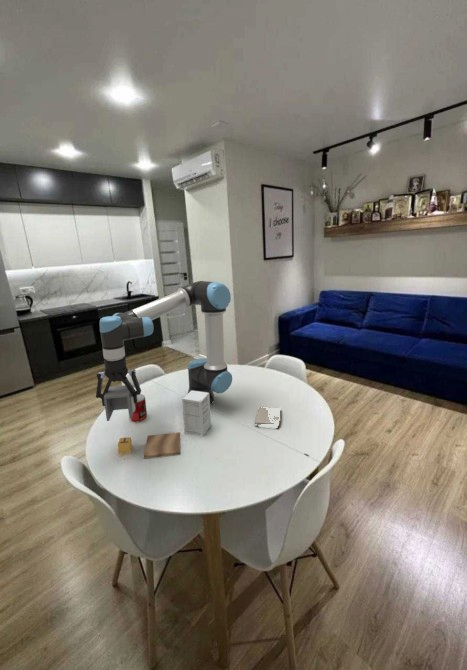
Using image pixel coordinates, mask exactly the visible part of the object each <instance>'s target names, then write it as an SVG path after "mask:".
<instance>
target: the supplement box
mask: <svg viewBox="0 0 467 670" xmlns="http://www.w3.org/2000/svg"><path fill="white" fill-rule="evenodd" d="M187 393H188V392H187ZM181 400H182V415H183V416H182V417H183V427H184V433H185V434H191V435H197V436H201V437H203V436H204V435H205V434H206V433H207V432H208V429H210V427H211V426H212V423H211V422H212V421H211V417H212V416H211V404H210V396H209V393H207V392H200V391H192V390H191V391H190V392H189V393H188V394H186V395H185V396H184V397H182V399H181Z"/></svg>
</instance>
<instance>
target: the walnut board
mask: <svg viewBox="0 0 467 670" xmlns="http://www.w3.org/2000/svg"><path fill="white" fill-rule="evenodd" d="M178 455H181V432H180V431H179V432H178V431H177V432H169V433H158V434H150V435H149V434H148V435H147V436H146V441H145V448H144V453H143V459H153V458H163V457H169V456H170V457H171V456H178Z"/></svg>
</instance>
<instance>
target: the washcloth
mask: <svg viewBox="0 0 467 670" xmlns="http://www.w3.org/2000/svg"><path fill="white" fill-rule="evenodd" d="M258 407H259V406H258ZM263 407H264V406H262V408H261V406H260V407H259V409H258V408H257V413H256V416H255V420H254V425H255V424H257V425H261V424H274V423H271V422H270V420H269V417H268V410H266V408H263ZM269 415H270V414H269ZM270 419H271V418H270ZM273 419H274V420H275V419H276V420H278V419H279V417H275V416H274V418H273ZM276 420H275V421H276ZM272 421H273V420H272Z"/></svg>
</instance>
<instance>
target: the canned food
mask: <svg viewBox="0 0 467 670" xmlns="http://www.w3.org/2000/svg"><path fill="white" fill-rule="evenodd" d="M147 412H148V411H147V401H146V396H145V395H144V394H142V393H140V395H137V403H135V412H133V416H132V419H130V421H132V422H135V423H139V422H143V421H145V420H146V419H147V416H148V414H147Z"/></svg>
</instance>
